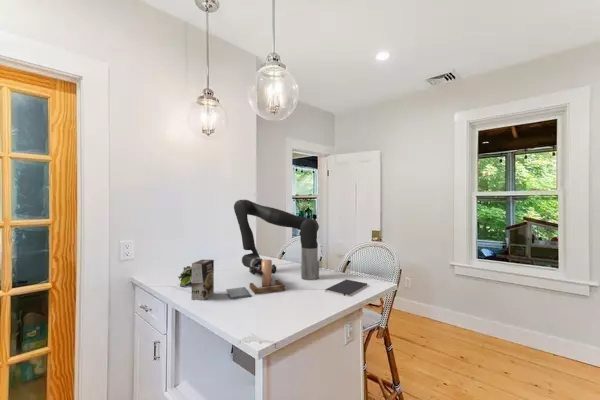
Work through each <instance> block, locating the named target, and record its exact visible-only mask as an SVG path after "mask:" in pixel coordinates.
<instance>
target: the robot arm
mask: <svg viewBox="0 0 600 400" xmlns="http://www.w3.org/2000/svg"><path fill="white" fill-rule="evenodd" d="M233 210H234V213H235V216H236V219H237V223H238V226H239V231H240V236H241V241H242V249H243V250H245V251H251V253H247V254H244V255H242V257H241V264H242V265H243V267H246V268H249V269H248V270H249V271H248V272H249V273H251V274H252V275H259V276H262V260H264V259H262V258H261V257H260V255H259V253H258V250H257V248H256V244H255V243H256V242H255V237H254V234H253V230H252V228H251V226H250V223H249V218H248V216H252V217H256V218H259V219H262V220H263V221H264V222H266V223H268V224H271V225H274V226H278V227H284V228H293V229H297V230H298V231H300V233H299V234H300V236H299V237H300V245H301V248H300V249H301V251H300V252H301V254H300V255H301V262H300V263H301V264H300V265H301V267H300V269H301V270H300V271H301V272H300V273H301V275H300V277H301V279H302V280H306V281H313V280H317V279H320V261H319V260H318V259H319V256H318V255H319V254H318V252H319V251H318V249H319V245H318V238H317V237H318V236H317V234H318V231H319V228H320V225H319V223H318V221H316V219H313V218H308V217H303V216H298V215H295V214H293V213H290V212H287V211H285V210H281V209H280V208H279V209H278V208H274V207H270V206H267V205H266V206H265V205H261V204H258V203H256V202H253V201H251V200H248V199H238V200H236V201H235V203H234V204H233ZM276 272H277V265H276V264H273V263H272V275H274V274H275V275H276Z"/></svg>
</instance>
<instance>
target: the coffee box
mask: <svg viewBox="0 0 600 400" xmlns="http://www.w3.org/2000/svg"><path fill="white" fill-rule="evenodd" d="M191 267H192V280H191V300H197V301H199V300H200V301H205V300H206V299H208V298H210V296H212V295H214V293H215V292H214V291H215V289H214V287H215V284H214V283H215V282H214V281H215V280H214V279H215V278H214V277H215V275H214V273H215V270H214V269H215V260H214V259H200V260H198V261H194V262H192V263H191Z"/></svg>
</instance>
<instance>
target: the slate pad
mask: <svg viewBox="0 0 600 400" xmlns="http://www.w3.org/2000/svg"><path fill="white" fill-rule="evenodd" d="M225 291H226V293H227V295H228V297H229V298H230V300H235V299H243V298H250V297H251V296H252V295H251V292H249V290H248V289H247V288H246V287H245V286H243V287H242V286H240V287H234V288H227V289H226V290H225ZM251 298H252V297H251Z"/></svg>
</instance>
